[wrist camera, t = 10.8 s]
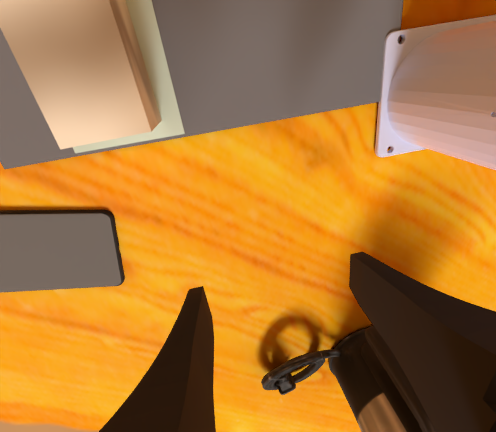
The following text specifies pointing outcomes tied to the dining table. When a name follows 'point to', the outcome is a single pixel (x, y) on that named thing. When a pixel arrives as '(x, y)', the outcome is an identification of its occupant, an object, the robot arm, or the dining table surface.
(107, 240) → the smartphone
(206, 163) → the dining table surface
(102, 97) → the birch block
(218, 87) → the rubber mat
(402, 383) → the milk frother
